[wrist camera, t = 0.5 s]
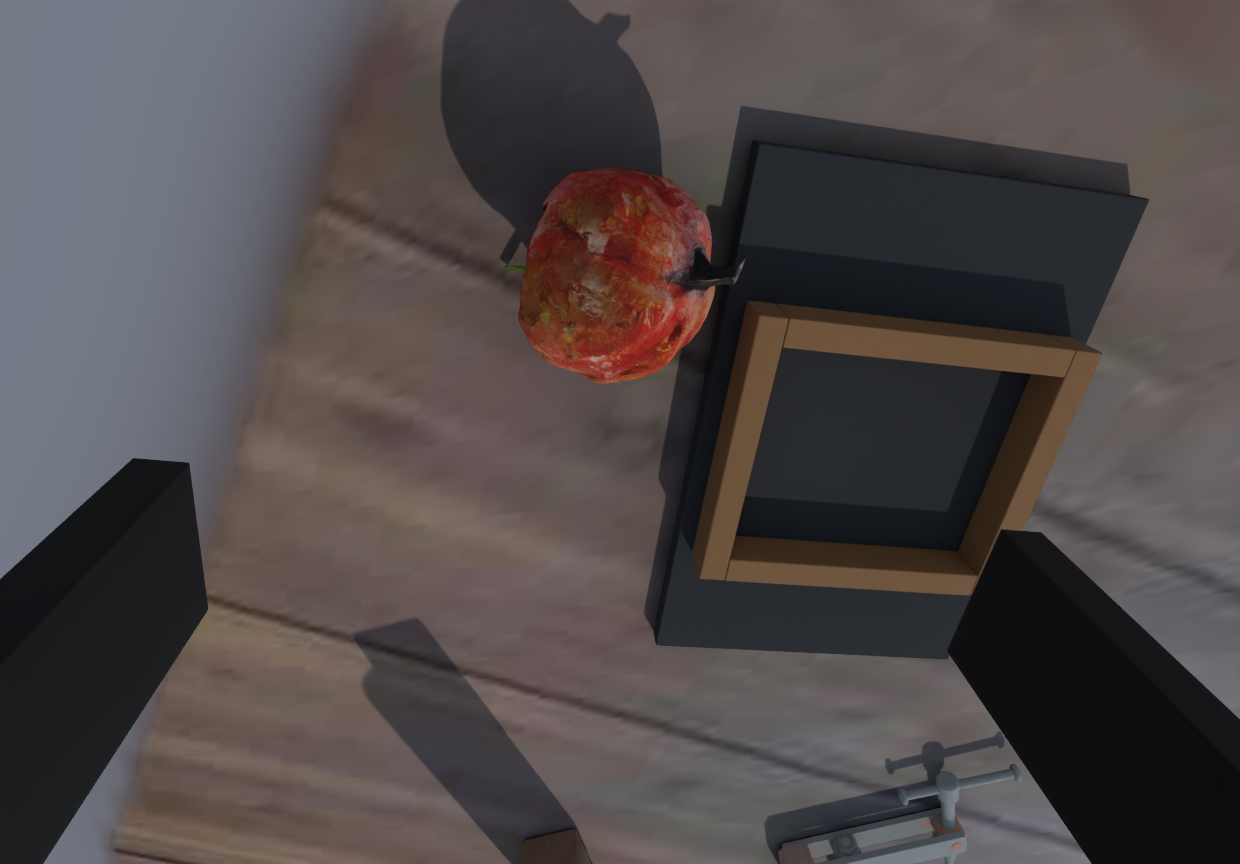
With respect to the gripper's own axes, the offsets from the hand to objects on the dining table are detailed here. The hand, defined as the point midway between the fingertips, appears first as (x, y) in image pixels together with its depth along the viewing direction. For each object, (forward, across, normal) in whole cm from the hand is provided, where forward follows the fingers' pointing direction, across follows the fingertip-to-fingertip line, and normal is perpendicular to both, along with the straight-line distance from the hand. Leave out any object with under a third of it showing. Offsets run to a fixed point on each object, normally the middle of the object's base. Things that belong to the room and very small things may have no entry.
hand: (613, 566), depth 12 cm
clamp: (+19, +24, -33) cm, 45 cm away
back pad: (+19, +14, -6) cm, 24 cm away
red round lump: (+19, +1, +1) cm, 19 cm away
